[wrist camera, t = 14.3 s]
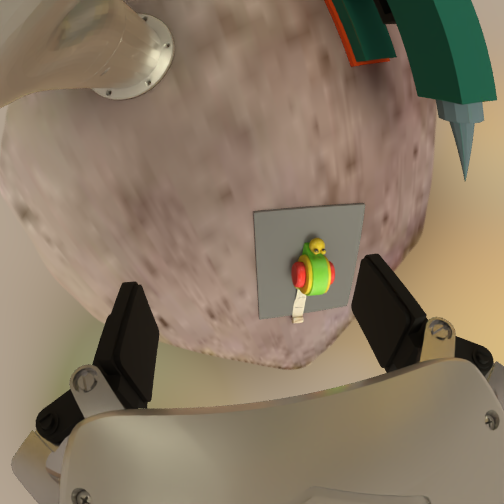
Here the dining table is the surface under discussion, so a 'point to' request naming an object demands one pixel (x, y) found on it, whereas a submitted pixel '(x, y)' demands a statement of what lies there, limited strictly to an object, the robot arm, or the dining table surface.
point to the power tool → (426, 54)
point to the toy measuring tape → (311, 275)
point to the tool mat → (291, 248)
